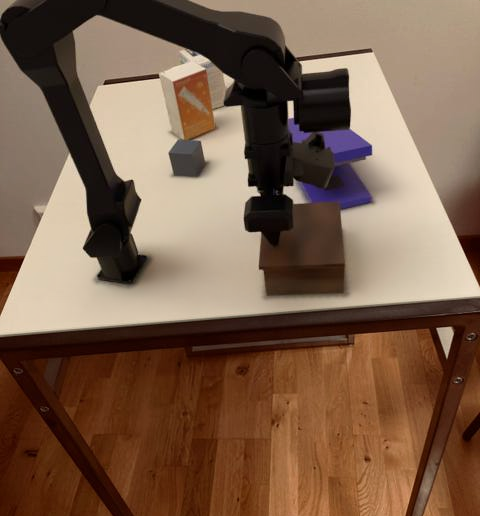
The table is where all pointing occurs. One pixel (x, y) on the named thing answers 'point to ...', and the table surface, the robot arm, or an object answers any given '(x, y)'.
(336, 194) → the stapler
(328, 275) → the chest
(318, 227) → the lid
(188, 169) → the block
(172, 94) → the small box
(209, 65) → the light bulb box
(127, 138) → the table surface
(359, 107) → the table surface
